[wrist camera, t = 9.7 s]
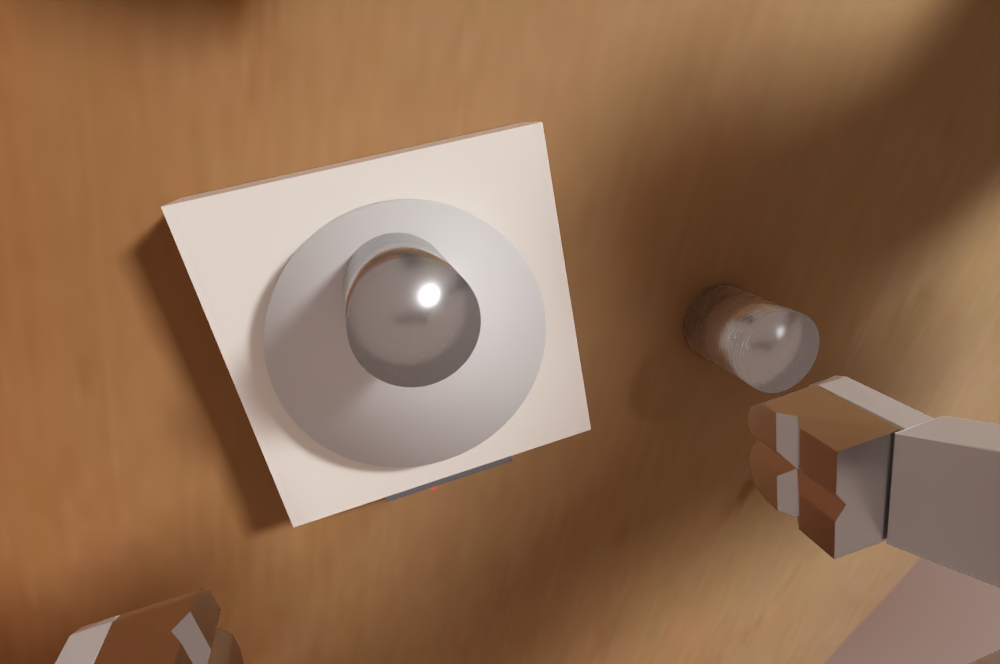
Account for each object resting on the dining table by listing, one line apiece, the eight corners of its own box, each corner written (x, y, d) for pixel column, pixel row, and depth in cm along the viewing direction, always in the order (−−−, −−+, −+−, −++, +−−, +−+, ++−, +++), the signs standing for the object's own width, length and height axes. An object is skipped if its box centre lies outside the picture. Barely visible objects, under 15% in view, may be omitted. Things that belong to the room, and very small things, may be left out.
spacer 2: (747, 276, 31) (819, 301, 26) (750, 344, 32) (818, 379, 28) (680, 295, 30) (742, 325, 25) (686, 364, 32) (745, 403, 27)
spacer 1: (437, 221, 21) (466, 245, 17) (459, 320, 23) (492, 366, 18) (329, 247, 21) (329, 278, 16) (359, 347, 22) (367, 403, 18)
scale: (519, 122, 25) (551, 121, 21) (569, 413, 30) (601, 451, 27) (181, 197, 23) (152, 210, 19) (301, 499, 28) (296, 554, 24)
